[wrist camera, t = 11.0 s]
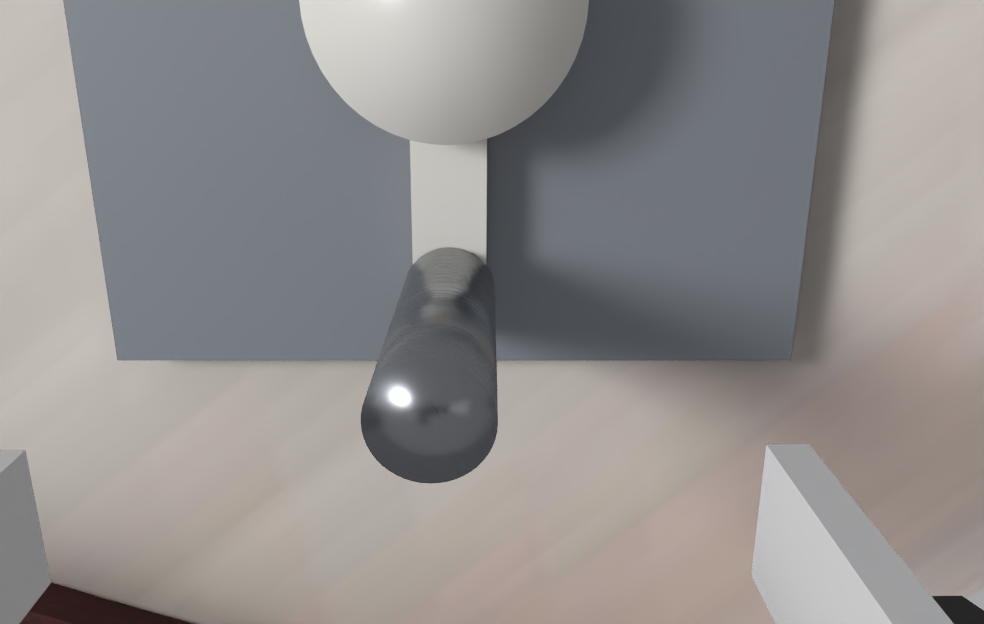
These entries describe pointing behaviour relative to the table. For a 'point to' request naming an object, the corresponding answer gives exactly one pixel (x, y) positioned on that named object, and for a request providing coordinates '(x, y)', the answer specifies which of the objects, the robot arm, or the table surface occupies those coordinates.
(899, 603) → the robot arm
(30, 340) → the table surface
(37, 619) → the book
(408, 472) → the white grey handled piece
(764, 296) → the dial base plate
